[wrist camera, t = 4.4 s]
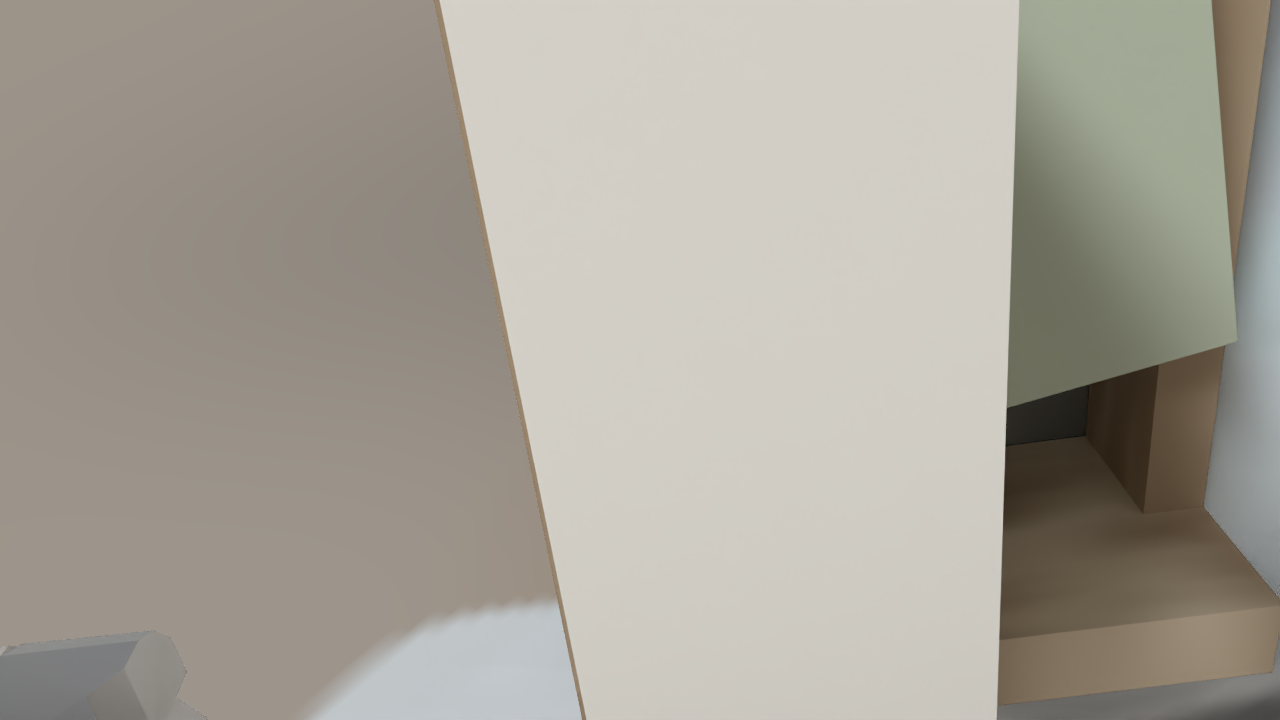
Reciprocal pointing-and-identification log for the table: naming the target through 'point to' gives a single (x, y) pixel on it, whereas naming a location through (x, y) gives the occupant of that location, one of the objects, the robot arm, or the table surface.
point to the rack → (1112, 494)
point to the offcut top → (1116, 193)
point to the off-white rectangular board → (758, 339)
